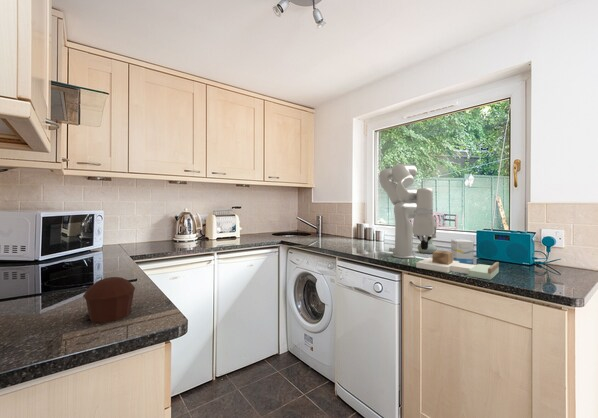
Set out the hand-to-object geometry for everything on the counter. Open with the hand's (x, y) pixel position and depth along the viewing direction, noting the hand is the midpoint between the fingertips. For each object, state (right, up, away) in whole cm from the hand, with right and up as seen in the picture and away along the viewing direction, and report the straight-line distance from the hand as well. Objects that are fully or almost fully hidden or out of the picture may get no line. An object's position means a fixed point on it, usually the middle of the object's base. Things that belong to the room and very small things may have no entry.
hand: (424, 249), depth 140 cm
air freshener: (+17, -8, +35) cm, 40 cm away
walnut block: (+6, -6, -5) cm, 10 cm away
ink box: (+23, -8, +8) cm, 26 cm away
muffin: (-113, -9, -65) cm, 131 cm away
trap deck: (+11, -8, -9) cm, 16 cm away
